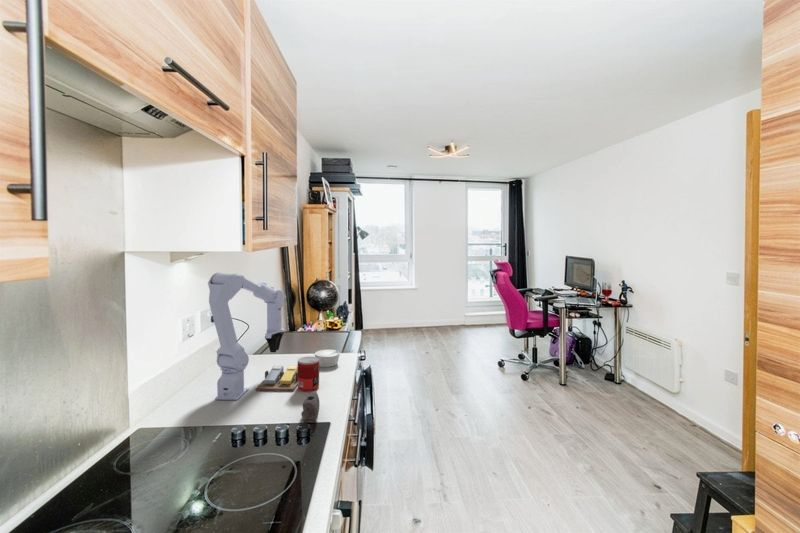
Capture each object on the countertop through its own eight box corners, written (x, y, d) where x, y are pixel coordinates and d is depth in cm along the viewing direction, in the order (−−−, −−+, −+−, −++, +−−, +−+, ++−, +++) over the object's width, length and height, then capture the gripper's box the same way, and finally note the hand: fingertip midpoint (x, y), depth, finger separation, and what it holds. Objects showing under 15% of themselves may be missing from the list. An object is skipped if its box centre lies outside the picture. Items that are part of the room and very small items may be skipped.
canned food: (317, 391, 133) (317, 362, 132) (295, 392, 133) (295, 362, 132) (320, 383, 141) (320, 356, 140) (299, 384, 140) (299, 356, 140)
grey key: (275, 383, 136) (275, 379, 136) (264, 383, 136) (263, 379, 136) (283, 369, 146) (283, 365, 146) (273, 369, 146) (273, 365, 146)
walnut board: (293, 391, 133) (293, 379, 133) (255, 390, 133) (255, 379, 133) (305, 375, 149) (305, 365, 149) (271, 375, 149) (271, 364, 149)
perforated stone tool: (306, 405, 122) (306, 385, 122) (322, 404, 123) (322, 384, 122) (299, 427, 107) (299, 405, 107) (317, 426, 108) (317, 404, 107)
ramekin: (340, 367, 160) (340, 355, 160) (314, 369, 157) (314, 357, 157) (338, 359, 171) (338, 348, 171) (314, 361, 168) (314, 350, 168)
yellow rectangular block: (291, 384, 136) (290, 379, 136) (279, 383, 136) (279, 379, 136) (298, 369, 146) (298, 365, 146) (288, 369, 146) (287, 365, 146)
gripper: (278, 322, 142) (278, 356, 142) (289, 315, 156) (289, 346, 157) (260, 322, 142) (260, 356, 142) (273, 315, 156) (273, 346, 157)
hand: (274, 351), depth 150 cm, fingers open, 3 cm apart
